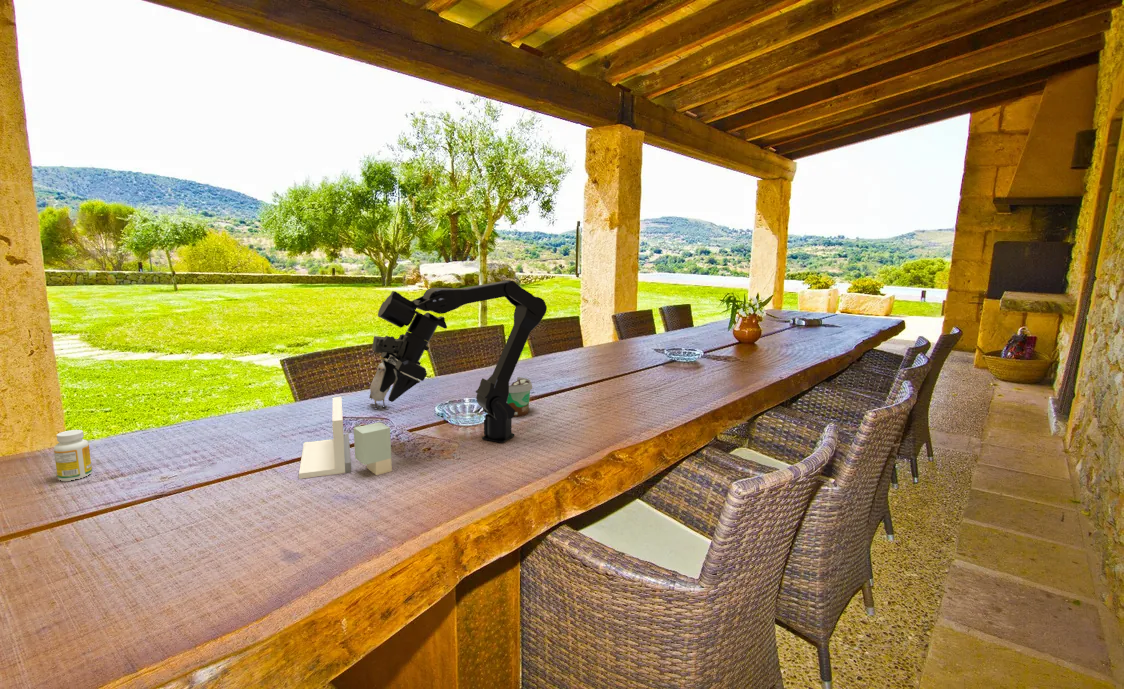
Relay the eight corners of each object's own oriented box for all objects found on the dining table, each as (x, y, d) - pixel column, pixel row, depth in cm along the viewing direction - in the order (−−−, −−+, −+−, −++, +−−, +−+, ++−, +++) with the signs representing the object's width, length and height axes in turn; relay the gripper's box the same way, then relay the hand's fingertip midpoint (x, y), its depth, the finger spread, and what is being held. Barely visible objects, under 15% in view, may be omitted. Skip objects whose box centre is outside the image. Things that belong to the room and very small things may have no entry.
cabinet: (383, 463, 119) (381, 421, 117) (392, 470, 115) (391, 427, 113) (355, 471, 115) (353, 427, 113) (364, 478, 111) (362, 433, 109)
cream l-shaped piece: (348, 442, 132) (346, 396, 130) (351, 472, 114) (348, 419, 112) (304, 447, 128) (301, 399, 126) (299, 478, 110) (295, 424, 108)
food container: (526, 420, 153) (526, 387, 151) (506, 418, 154) (506, 385, 152) (536, 408, 165) (536, 377, 163) (517, 407, 166) (518, 376, 164)
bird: (381, 415, 155) (379, 365, 152) (364, 405, 165) (362, 358, 162) (397, 412, 158) (395, 363, 155) (379, 402, 168) (378, 356, 165)
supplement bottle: (67, 483, 106) (60, 438, 104) (52, 479, 108) (45, 434, 106) (98, 474, 111) (92, 430, 109) (83, 469, 112) (77, 427, 111)
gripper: (378, 316, 126) (346, 374, 124) (396, 325, 110) (360, 392, 108) (418, 337, 132) (388, 392, 130) (441, 348, 116) (407, 411, 114)
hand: (385, 396), depth 121 cm, fingers open, 9 cm apart
